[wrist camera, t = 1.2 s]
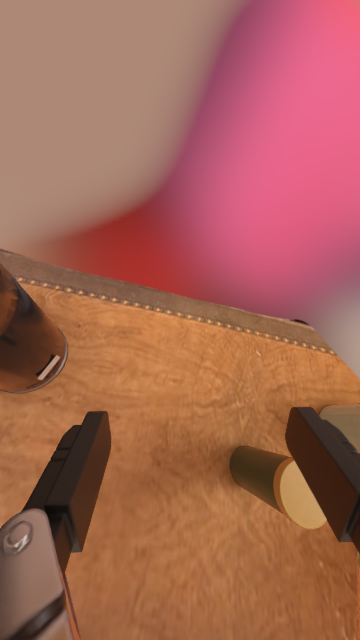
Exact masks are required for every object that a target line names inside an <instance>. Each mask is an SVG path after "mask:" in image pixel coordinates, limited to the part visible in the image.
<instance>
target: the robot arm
mask: <svg viewBox="0 0 360 640" xmlns="http://www.w3.org/2000/svg"><path fill="white" fill-rule="evenodd" d="M67 355H68V346H67V341H66V339H65V337H64V335H63V333H62V332H61V331H60V330H59V329H58V328H57V327H56V326H55V325H54V324H53V323H52V322H51V320H50V319H49V318H48V317H47V316H46V315H45V313H44V312H43V311H42V310H41V309H40V308H39V307H38V305H37V304H36V303H35V302H34V301H33V300H32V298H31V297H30V296H29V295H28V294H27V293H26V292H25V290H24V289H23V288H22V287H21V286H20V285H19V283H18V282H17V281H16V280H15V279H14V278H13V276H12V275H11V274H10V273H9V272H8V271H7V270H6V269H5V268H4V266H3V265H2V264H1V263H0V390H3V391H6V392H11V393H26V392H31V391H34V390H37V389H39V388H41V387H43V386H45V385H47V384H48V383H49V382H51V381H52V380H53V379H54V378H55V377H56V376H57V375H58V374H59V373H60V371H61V370H62V368H63V366H64V365H65V362H66V359H67ZM285 439H286V444H287V447H288V449H289V451H290V453H291V455H292V457H293V459H294V461H295V462H296V464H297V466H298V468H299V470H300V472H301V473H302V475H303V477H304V479H305V481H306V483H307V484H308V486H309V488H310V490H311V492H312V493H313V495H314V497H315V499H316V501H317V503H318V504H319V506H320V508H321V510H322V512H323V514H324V515H325V517H326V519H327V521H328V523H329V525H330V526H331V528H332V530H333V532H334V534H335V536H336V537H337V539H338V541H339V542H353V543H354V545H355V547H356V548H357V550H358V552H357V555H356V579H357V636H356V640H360V453H358V451H357V449H356V448H355V447H354V446H353V445H352V443H349V440H348V439H347V438H346V437H345V435H344V434H343V433H342V432H341V431H340V430H339V429H338V428H337V427H335V426H334V425H333V424H331V423H330V422H329V421H327V420H322V419H321V418H320V416H319V415H318V414H317V413H316V411H315V410H314V409H313V408H311V407H293V408H291V410H290V414H289V419H288V423H287V428H286V433H285ZM110 450H111V432H110V425H109V418H108V413H107V411H90V412H88V413H87V414H86V416H85V418H84V421H83V423H82V425H74V426H73V427H72V428H71V429H69V430H68V431H67V432H66V433H65V434H64V435H63V437H62V439H61V441H60V442H59V444H58V446H57V448H56V451H55V452H54V454H53V455H52V457H51V461H49V463H48V465H47V466H46V468H45V470H44V472H43V474H42V476H41V478H40V479H39V481H38V483H37V485H36V487H35V489H34V490H33V492H32V494H31V496H30V498H29V500H28V502H27V503H26V505H25V507H24V508H23V510H22V511H21V512H20V513H18V514H16V515H15V516H13V517H12V518H10V519H9V520H8V521H7V522H6V523H5V524H4V525H3V526H2V527H1V528H0V640H82V639H81V635H80V631H79V627H78V622H77V618H76V614H75V610H74V606H73V602H72V598H71V594H70V590H69V586H68V582H67V578H66V574H65V570H66V567H67V564H68V560H69V557H70V554H71V553H73V552H82V550H83V546H84V543H85V539H86V536H87V532H88V529H89V525H90V522H91V518H92V515H93V511H94V508H95V504H96V500H97V497H98V493H99V490H100V486H101V483H102V479H103V476H104V472H105V469H106V465H107V462H108V458H109V455H110Z"/></svg>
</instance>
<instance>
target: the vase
mask: <svg viewBox="0 0 360 640" xmlns="http://www.w3.org/2000/svg"><path fill="white" fill-rule="evenodd" d="M319 416H320V418H321V419H322V420H327V421H329V422H330V423H331V424H333V425H334V426H335V427H337V428H338V429H339V430H340V431H341V432H342V433H343V434H344V435H345V437H346V438H347V439H348V440H349V443H352V445H353V446H354V447H355V448H356V449H357V451H358V453H360V403H357V404H340V405H328V406H326V407H324V408H323V409H322V410H321V412H320V414H319Z"/></svg>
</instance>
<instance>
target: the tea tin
mask: <svg viewBox="0 0 360 640" xmlns="http://www.w3.org/2000/svg"><path fill="white" fill-rule="evenodd" d="M230 471H231V474H232V477H233V479H234V480H235V482H236V483H237V484H238V485H240V486H241V487H243V488H244V489H246V490H247V491H249V492H250V493H252V494H253V495H255V496H256V497H258V498H260V499H261V500H263V501H264V502H266V503H267V504H269V505H270V506H272V507H273V508H275V509H276V510H278V511H280V512H281V513H283V514H284V515H285V516H286V517H287V518H288V519H289V520H291V521H292V522H294V523H295V524H297V525H299V526H300V527H302V528H305V529H316V528H319V527H321V526H322V525H323V524H324V523H325V522H326V521H327V519H326V517H325V515H324V514H323V512H322V510H321V508H320V506H319V504H318V503H317V501H316V499H315V497H314V495H313V493H312V492H311V490H310V488H309V486H308V484H307V483H306V481H305V479H304V477H303V475H302V473H301V472H300V470H299V468H298V466H297V464H296V462H295V461H294V459H293V458H292V457H288V456H284V455H280V454H276V453H272V452H268V451H265V450H261V449H257V448H253V447H249V446H242V447H239V448H238V449H236V450H235V451H234V453H233V455H232V457H231V460H230Z"/></svg>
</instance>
